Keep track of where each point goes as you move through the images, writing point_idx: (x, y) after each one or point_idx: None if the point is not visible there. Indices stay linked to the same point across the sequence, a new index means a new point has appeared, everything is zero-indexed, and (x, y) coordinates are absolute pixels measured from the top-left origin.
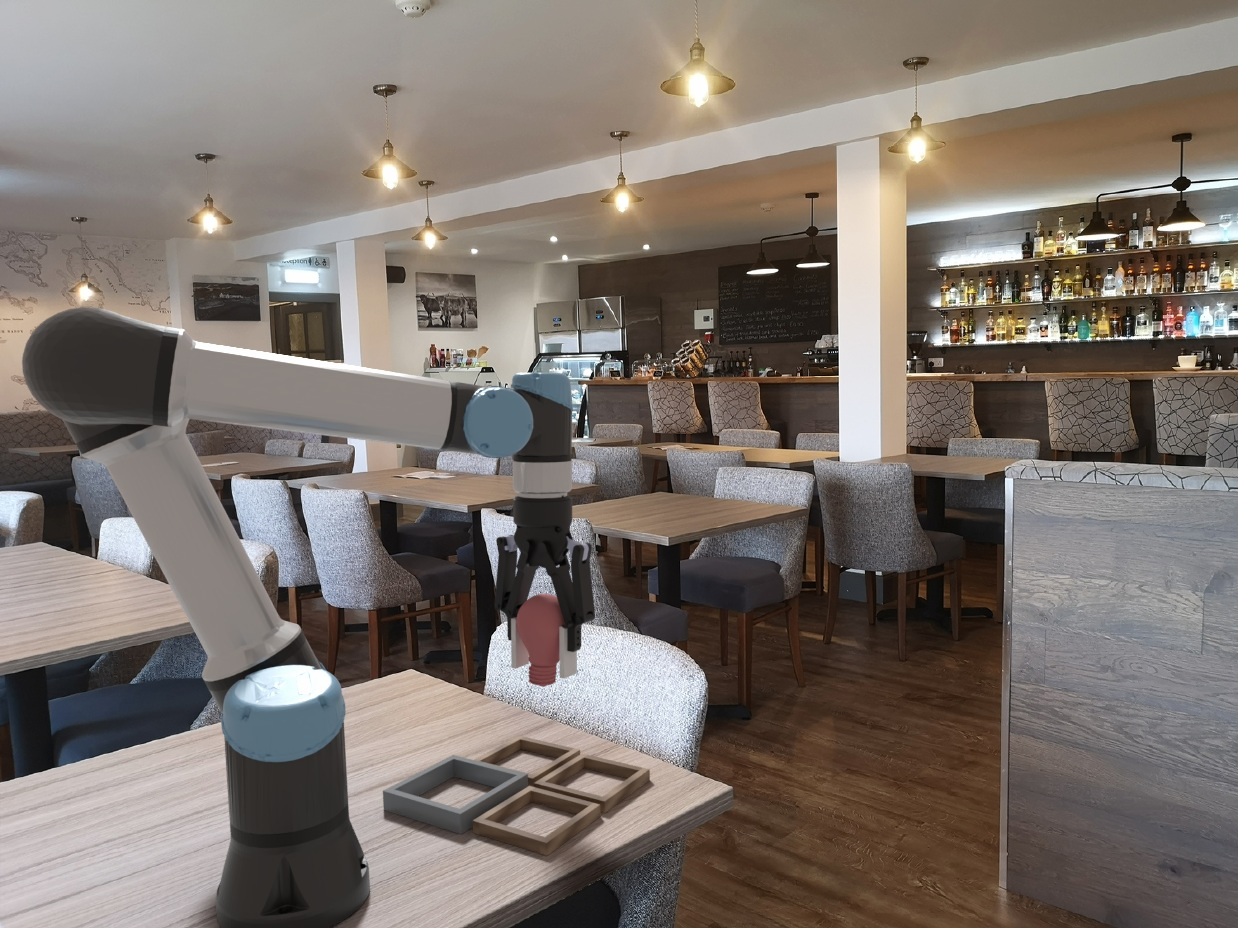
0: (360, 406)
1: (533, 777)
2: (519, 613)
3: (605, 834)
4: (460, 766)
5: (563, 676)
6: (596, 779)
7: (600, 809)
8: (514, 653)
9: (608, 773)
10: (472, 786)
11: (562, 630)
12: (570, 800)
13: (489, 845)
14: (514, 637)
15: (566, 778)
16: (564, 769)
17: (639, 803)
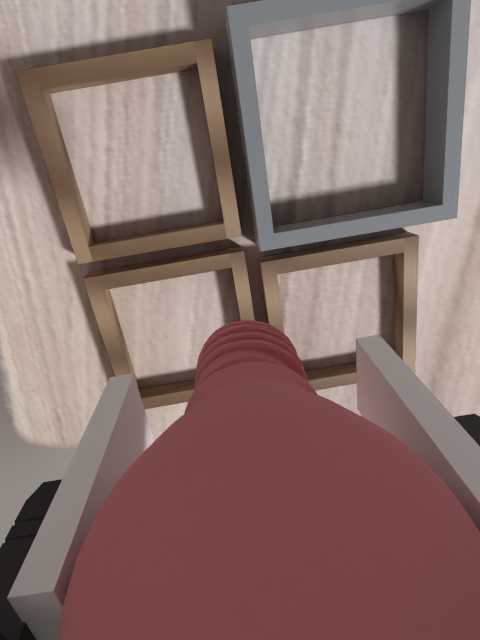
0: None
1: (262, 266)
2: (434, 566)
3: (23, 214)
4: (417, 206)
5: (112, 380)
6: (199, 352)
7: (97, 272)
8: (389, 370)
9: None
10: (361, 194)
11: (31, 569)
12: (131, 240)
13: (143, 28)
14: (429, 422)
15: None
16: None
17: (76, 333)
